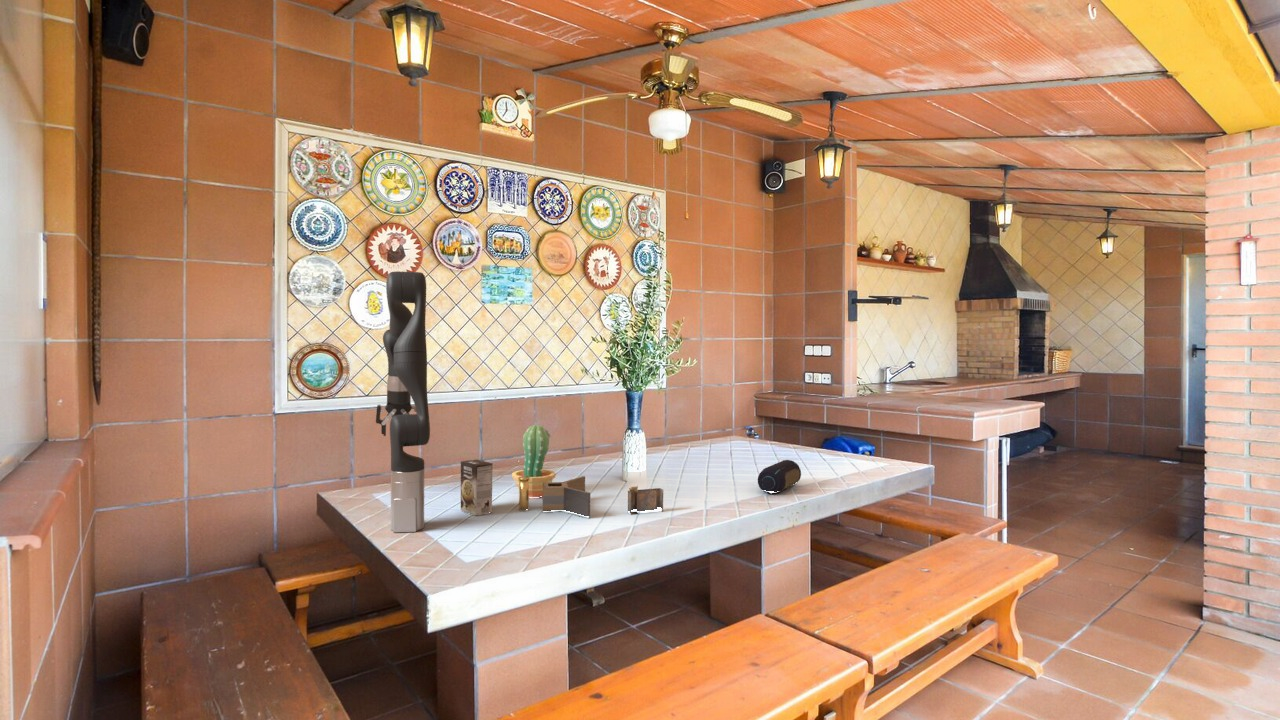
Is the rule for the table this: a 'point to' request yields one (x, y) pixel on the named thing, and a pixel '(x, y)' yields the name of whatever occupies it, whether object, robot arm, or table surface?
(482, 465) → the coffee box
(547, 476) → the potted cactus
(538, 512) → the table surface
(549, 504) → the hinge
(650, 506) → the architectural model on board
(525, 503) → the hinge pin
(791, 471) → the portable speaker
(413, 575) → the table surface
